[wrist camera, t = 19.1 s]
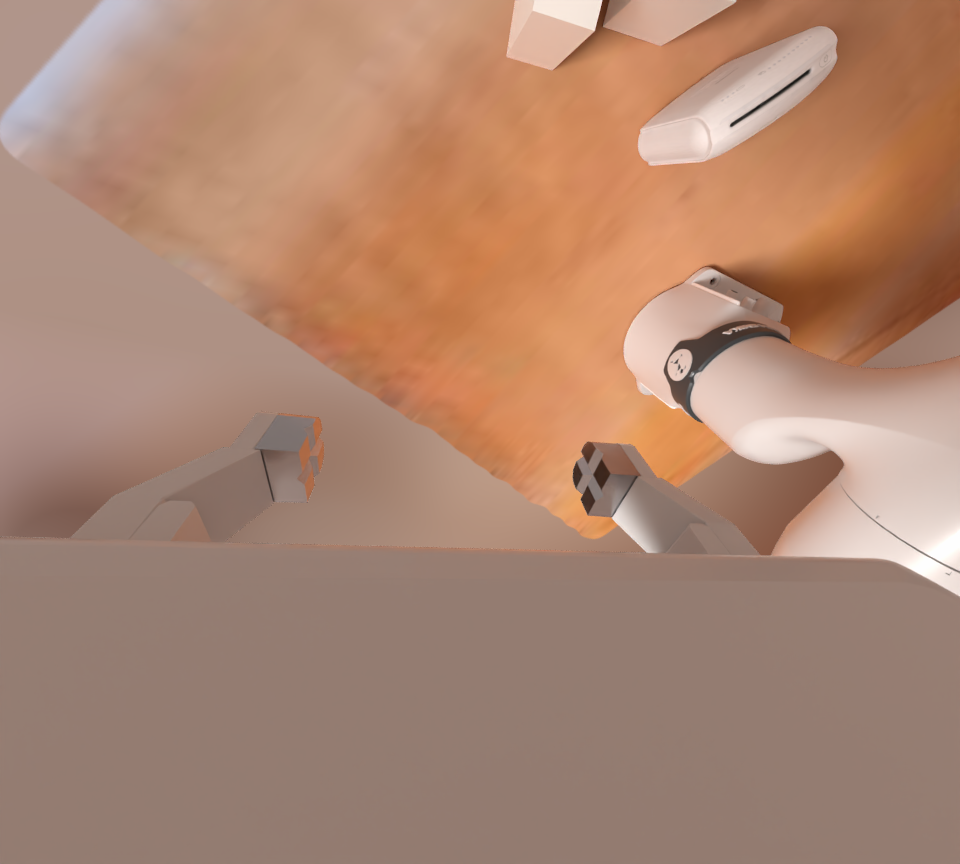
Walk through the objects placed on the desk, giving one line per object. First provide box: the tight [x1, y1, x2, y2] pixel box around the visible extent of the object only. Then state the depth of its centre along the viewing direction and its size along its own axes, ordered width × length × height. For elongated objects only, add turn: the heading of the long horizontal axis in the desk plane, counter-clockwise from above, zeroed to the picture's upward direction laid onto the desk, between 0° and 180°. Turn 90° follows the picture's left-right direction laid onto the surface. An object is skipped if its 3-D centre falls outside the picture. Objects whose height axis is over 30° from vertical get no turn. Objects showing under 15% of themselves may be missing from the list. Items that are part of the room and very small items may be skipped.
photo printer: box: [638, 26, 838, 166], centre depth 30 cm, size 10×4×12 cm, turn 123°
